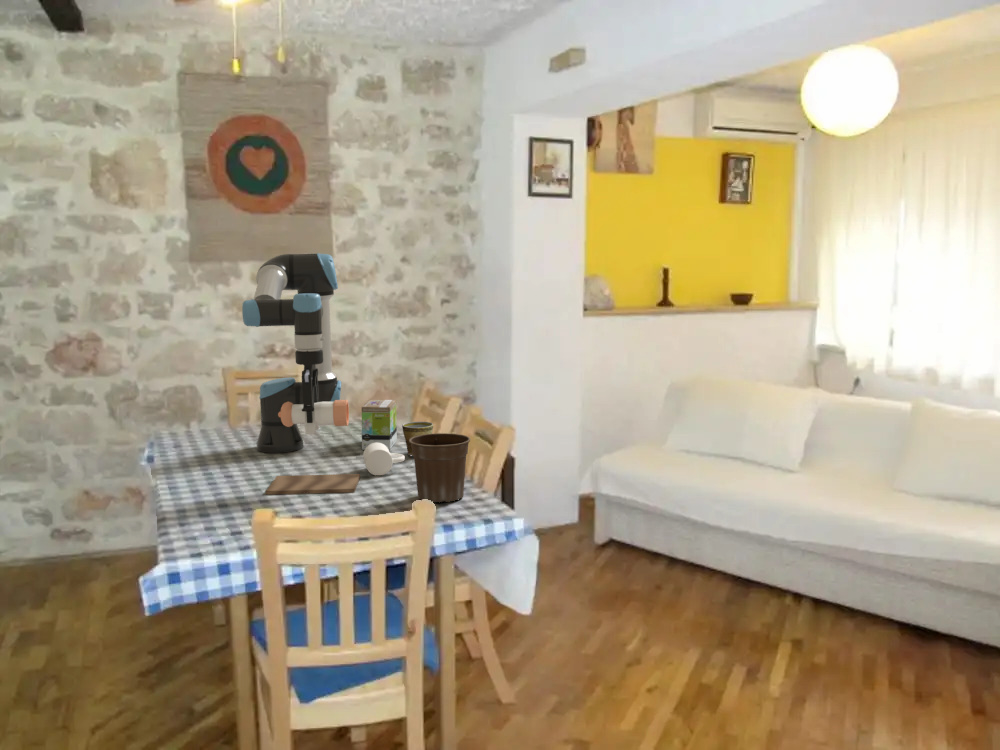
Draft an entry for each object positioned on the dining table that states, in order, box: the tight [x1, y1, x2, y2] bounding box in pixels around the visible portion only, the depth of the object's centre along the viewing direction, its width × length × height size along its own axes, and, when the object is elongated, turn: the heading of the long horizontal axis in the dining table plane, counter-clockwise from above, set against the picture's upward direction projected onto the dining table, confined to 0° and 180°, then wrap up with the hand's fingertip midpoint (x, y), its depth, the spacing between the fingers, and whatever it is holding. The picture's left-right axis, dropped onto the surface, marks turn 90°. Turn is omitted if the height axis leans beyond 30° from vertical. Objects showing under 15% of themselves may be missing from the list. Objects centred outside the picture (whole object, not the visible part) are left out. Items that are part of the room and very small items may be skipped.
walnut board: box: [265, 473, 361, 495], centre depth 250 cm, size 24×16×1 cm, turn 93°
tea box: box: [361, 399, 398, 451], centre depth 299 cm, size 15×10×15 cm, turn 179°
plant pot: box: [409, 432, 471, 504], centre depth 236 cm, size 16×16×16 cm
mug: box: [362, 442, 406, 476], centre depth 265 cm, size 12×10×8 cm
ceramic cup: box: [401, 421, 434, 456], centre depth 287 cm, size 13×10×10 cm
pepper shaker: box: [278, 399, 350, 427], centre depth 247 cm, size 7×7×19 cm
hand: (312, 431), depth 248 cm, fingers closed on pepper shaker, 5 cm apart
